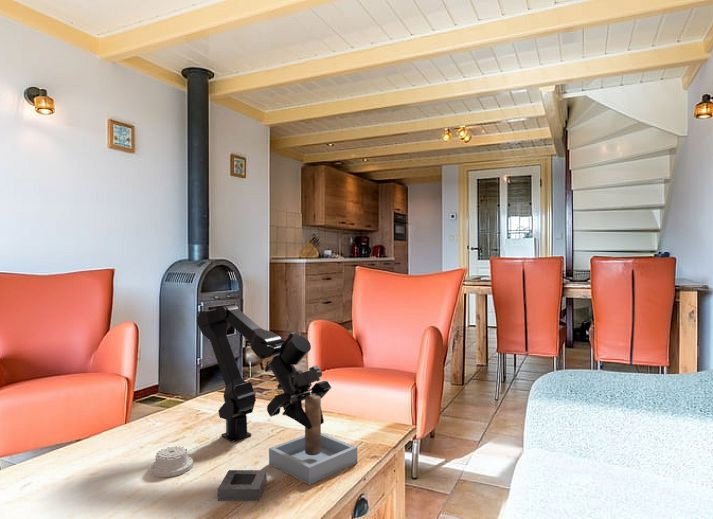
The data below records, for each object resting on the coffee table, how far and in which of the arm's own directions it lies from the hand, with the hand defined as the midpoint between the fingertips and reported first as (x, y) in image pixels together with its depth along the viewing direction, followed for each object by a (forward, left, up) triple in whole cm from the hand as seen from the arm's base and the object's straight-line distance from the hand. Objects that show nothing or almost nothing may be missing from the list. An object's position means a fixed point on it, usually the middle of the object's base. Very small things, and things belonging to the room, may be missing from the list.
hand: (316, 425), depth 121 cm
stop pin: (-1, 0, -7) cm, 7 cm away
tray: (-1, 0, -10) cm, 10 cm away
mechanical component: (-25, -26, -10) cm, 38 cm away
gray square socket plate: (-2, -20, -10) cm, 23 cm away
